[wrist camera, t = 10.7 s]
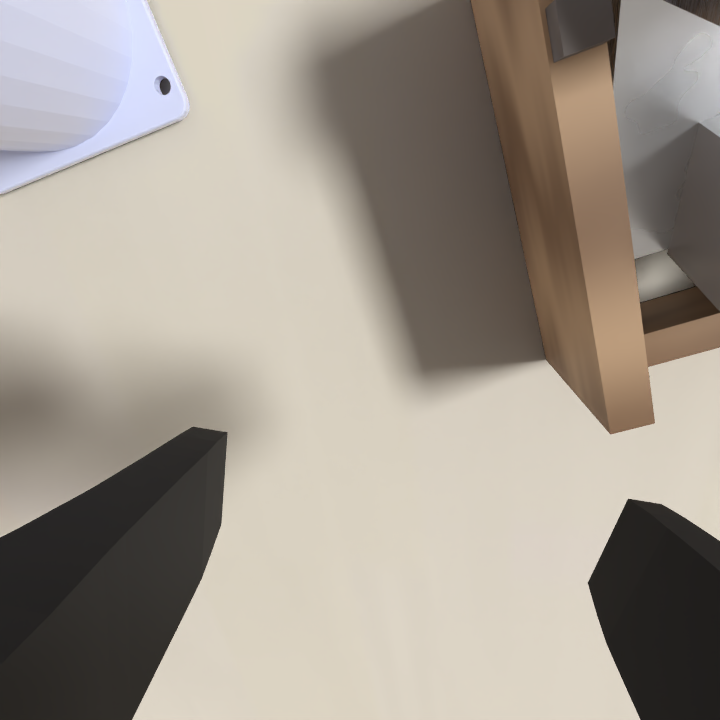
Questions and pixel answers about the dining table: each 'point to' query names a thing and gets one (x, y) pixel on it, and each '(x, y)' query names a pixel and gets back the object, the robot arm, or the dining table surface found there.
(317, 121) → the dining table surface
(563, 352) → the frame
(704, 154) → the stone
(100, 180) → the dining table surface
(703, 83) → the trapdoor
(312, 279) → the dining table surface
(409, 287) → the dining table surface
